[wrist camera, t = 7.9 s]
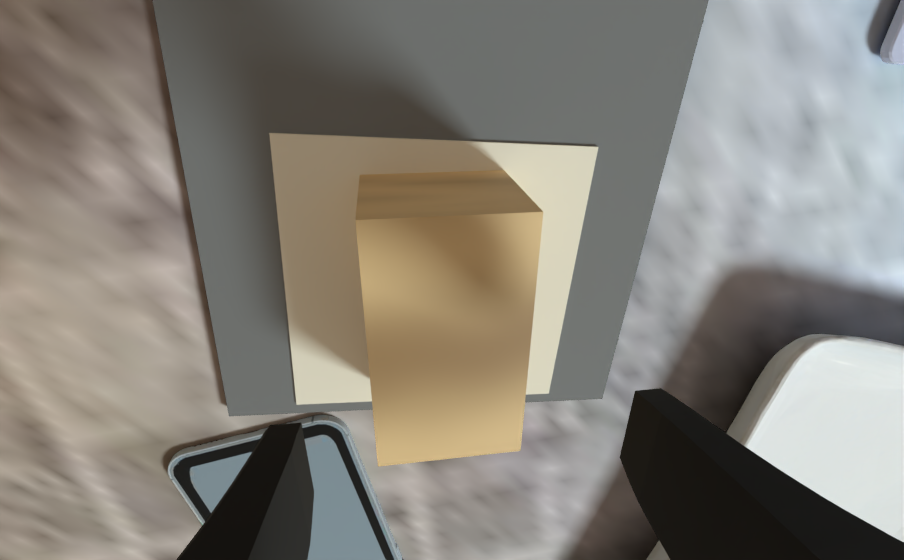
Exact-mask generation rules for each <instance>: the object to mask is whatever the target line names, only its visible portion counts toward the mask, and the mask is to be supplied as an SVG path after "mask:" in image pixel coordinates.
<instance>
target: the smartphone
mask: <svg viewBox="0 0 904 560" xmlns="http://www.w3.org/2000/svg"><path fill="white" fill-rule="evenodd" d="M300 422H301V423H302V429H303V434H304V439H305V445H306V450H307V456H308V461H309V466H310V472H311V477H312V482H313V488H314V502H313V516H312V529H311V541H310V548H309V553H308V559H307V560H402V555H401V553H400V550H399V548H398V545H397V544H396V543H395V540H394V538H393V535H392V533H391V531H390V528H389V526H388V523H387V521H386V518H385V516H384V514H383V511H382V509H381V506H380V504H379V501H378V499H377V497H376V494H375V492H374V489H373V487H372V484H371V482H370V480H369V477H368V475H367V472H366V470H365V467H364V465H363V463H362V460H361V458H360V455H359V453H358V450H357V448H356V446H355V443H354V441H353V438H352V436H351V433H350V431H349V429H348V427H347V425H346V424H345V423H344V422H343V421H342V420H341V419H339V418H337V417H334V416H330V415H316V416H312V417H308V418H304V419H300V420H297V421H292V422H291V423H300ZM286 424H290V423H289V422H288V423H286ZM266 429H267V428H264V429H260V430H258V431H255V432H251V433H247V434H240V435H236V436H232V437H228V438H224V439H223V440H221V439H220V440H218V441H213V442H212V443H211V442H208V443H207V444H205V443H204V444H202V445H197V446H196V447H194V446H192V447H188V448H185V449H182V450H180V451H178V452H177V453H176V454H175V455H174V456H173V457H172V459H171V461H170V463H169V465H168V475H169V477H170V479H171V480H172V482H173V483H174V485H175V486H176V488H177V489H178V491H179V492H180V493H181V495H182V496H183V498H184V499H185V501H186V502H187V504H188V505H189V507H190V508H191V509H192V511H193V512H194V514H195V515H196V517H197V518H198V520H199V521H200V523H201V524H202V525H203V524H204V523H205V521H206V520H207V518H208V517H209V516H210V514H211V513H212V511H213V510H214V508H215V507H216V506H217V504H218V503H219V501H220V500H221V498H222V497H223V496H224V494H225V493H226V491H227V490H228V488H229V487H230V485H231V484H232V482H233V481H234V479H235V478H236V476H237V475H238V473H239V472H240V470H241V469H242V467H243V466H244V464H245V463H246V461H247V459H248V458H249V456H250V455H251V453H252V451H253V450H254V448H255V447H256V445H257V443H258V442H259V440H260V438H261V437H262V435H263V433H264V432H265V430H266Z"/></svg>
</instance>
